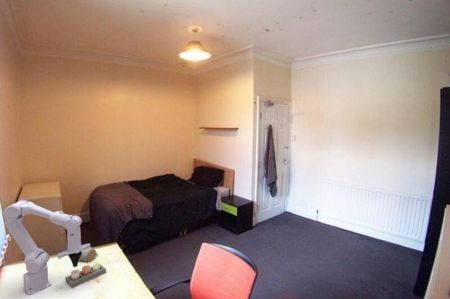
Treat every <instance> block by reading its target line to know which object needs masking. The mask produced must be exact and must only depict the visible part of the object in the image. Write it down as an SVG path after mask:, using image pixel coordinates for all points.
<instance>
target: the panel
mask: <svg viewBox="0 0 450 299" xmlns="http://www.w3.org/2000/svg"><path fill="white" fill-rule="evenodd" d="M79 274H80V278H79V279H76V280H74V281H72V280H71V274H70V275H68V276H66V277H65V283H66V284H67V285H68V286H69V287H70V288H71V289H73V288H75V287H78V286H80V285H82V284H84V283H87V282H90V281H91V280H93V279H95V278H98V277H100V276H103V275H105V274H107V269H106V267H104V266H103V265H102V264H100V270H97V271H95V272H93V265H92V266H90V274H88V275H86V276H83V275H82V270H79Z"/></svg>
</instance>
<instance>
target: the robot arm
mask: <svg viewBox="0 0 450 299" xmlns="http://www.w3.org/2000/svg"><path fill="white" fill-rule="evenodd" d="M2 215H3V216H4V226H5V227H6V230H8V232H9V233H10V235H11V237H12V238H13V239H14V241H15V243H16V244H17V246H18V247H19V249H20V250H21V251H22V253H23V254H24V264H25V269H26V271H27V272H26V273H24V274H23V276H22V277H23V278H22V279H23V290H24V291H25V293H26V294H27V295H31V294H34V293H36V292H39V291H41V290H43V289H46V288H49V287H50V286H52V283H51V281H49V273H48V272H49V271H48V270H49V269H48V268H49V267H48V262H49V260H50V255H49V253H48V252H46V251H45V250H44V249H43V248H41V247H38V246H37V245H36V243H35V241H34V240H33V238H32V237H31V235H30V233H29V232H28V230H27V228H26V227H25V226H24V225H23V222H22V220H23V218H24V216H29V215H34V216H38V217H40V218H45V219H48V220H49V221H50V223H52V224H55V225H57V226H62V227H63V228H65V230H66V231H67V233H66V236H67V237H66V238H67V249H66V250H63V251H62V252H59V253H57V258H58V259H59V260H60V259H62V258H64V257H68V258H69V259H70V261H71V264H72V267H73V268H77V267H78V264H79V262H80V261H79V259H80V257H81V255H82V252H81V250H84V249H87V248H88V249H89V248H91V243H85V244H82V241H81V239H82V238H81V235H82V234H81V233H82V232H81V226H80V225H82V222H83V220H82V217H80V216H78V214H77V215H72V214H68V213H64V211H62V210H60V211H58V210H57V211H51V210H49V209H48V208H47V209H46V208H44V207H42V206H39V205H37V204H35V203H34V202H32V201H28V200H26V199H21V200H18V201H17V202H14V203H13V204H10V205H9V206H6V208H5V209H4V211H3V213H2Z"/></svg>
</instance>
